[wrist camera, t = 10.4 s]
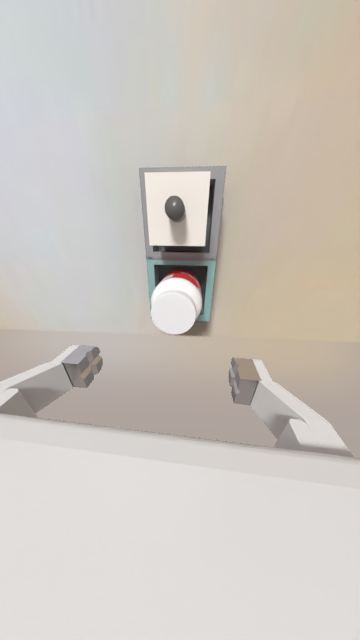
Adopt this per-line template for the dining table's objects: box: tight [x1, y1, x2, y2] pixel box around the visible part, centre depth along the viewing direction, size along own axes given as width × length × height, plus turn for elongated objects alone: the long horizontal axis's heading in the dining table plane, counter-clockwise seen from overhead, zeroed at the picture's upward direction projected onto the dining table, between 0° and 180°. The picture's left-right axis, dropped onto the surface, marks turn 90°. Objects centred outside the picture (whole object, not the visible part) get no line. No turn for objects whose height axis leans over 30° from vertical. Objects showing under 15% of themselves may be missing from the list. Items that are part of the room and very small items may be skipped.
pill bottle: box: [151, 268, 202, 334], centre depth 21 cm, size 6×6×11 cm
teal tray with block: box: [139, 166, 226, 321], centre depth 20 cm, size 10×18×12 cm, turn 179°
